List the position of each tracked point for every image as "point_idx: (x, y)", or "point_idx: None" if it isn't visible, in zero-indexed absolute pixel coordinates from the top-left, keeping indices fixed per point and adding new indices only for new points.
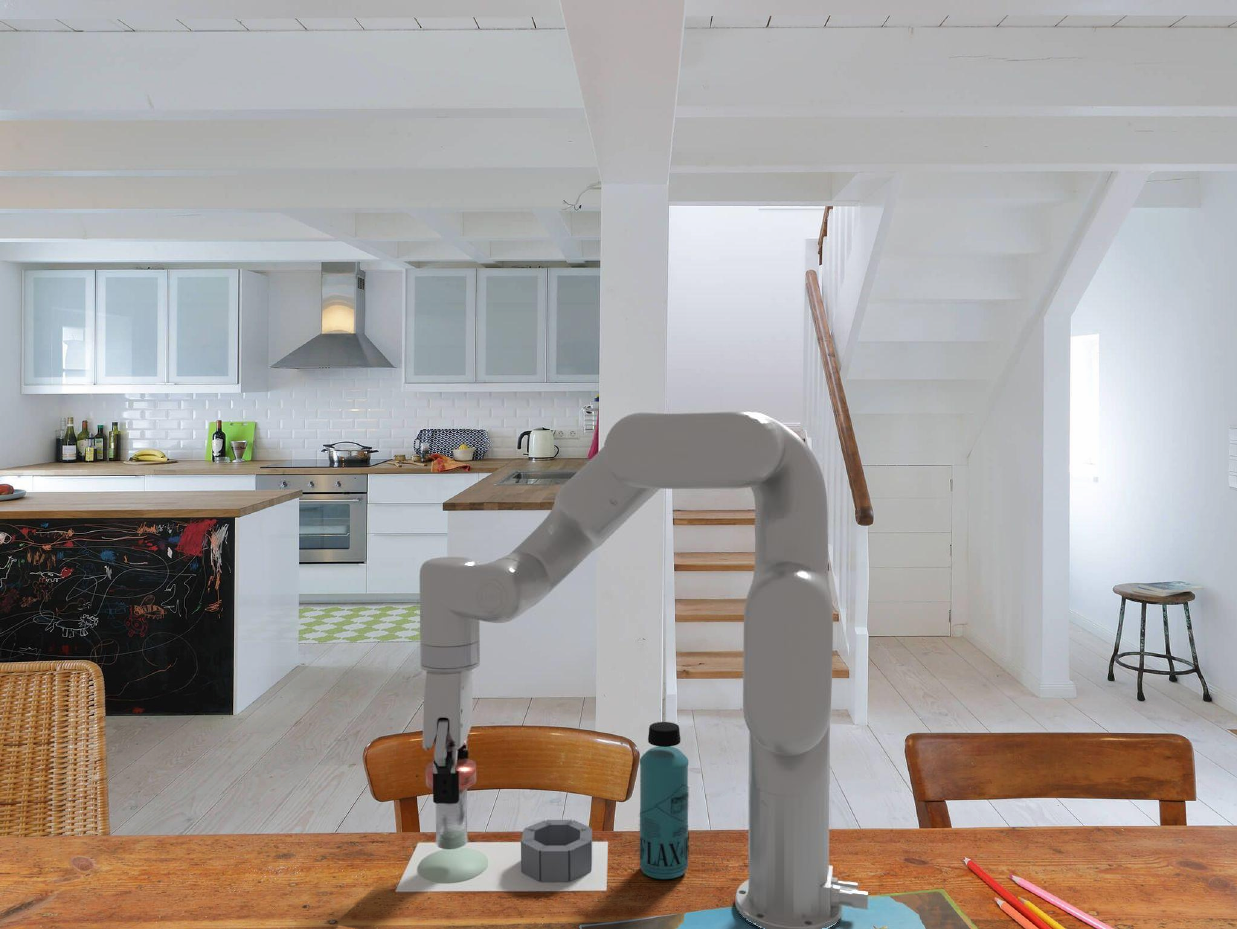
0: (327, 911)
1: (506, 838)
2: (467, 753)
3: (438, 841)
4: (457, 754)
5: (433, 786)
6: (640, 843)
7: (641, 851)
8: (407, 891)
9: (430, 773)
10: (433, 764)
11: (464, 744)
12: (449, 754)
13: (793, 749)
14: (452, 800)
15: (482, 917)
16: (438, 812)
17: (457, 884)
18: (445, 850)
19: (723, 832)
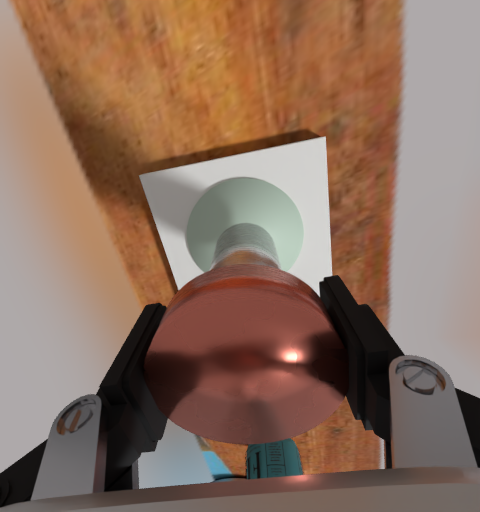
0: (63, 59)
1: (367, 273)
2: (362, 419)
3: (219, 239)
4: (355, 390)
5: (127, 339)
6: (260, 473)
7: (257, 463)
8: (146, 196)
9: (154, 341)
10: (47, 445)
11: (384, 455)
12: (355, 364)
13: None
14: None
15: (144, 305)
16: (211, 269)
17: (189, 263)
18: (290, 207)
19: (375, 465)
